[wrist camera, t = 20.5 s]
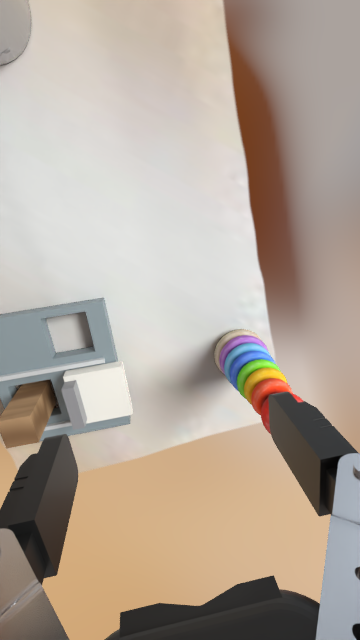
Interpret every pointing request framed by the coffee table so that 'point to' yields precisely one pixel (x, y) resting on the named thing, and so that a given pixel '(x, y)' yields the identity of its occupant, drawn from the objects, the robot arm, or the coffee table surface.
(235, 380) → the stacking toy
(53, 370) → the puzzle board
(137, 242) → the coffee table surface
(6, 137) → the coffee table surface
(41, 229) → the coffee table surface
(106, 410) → the lid
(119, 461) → the coffee table surface
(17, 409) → the walnut post
